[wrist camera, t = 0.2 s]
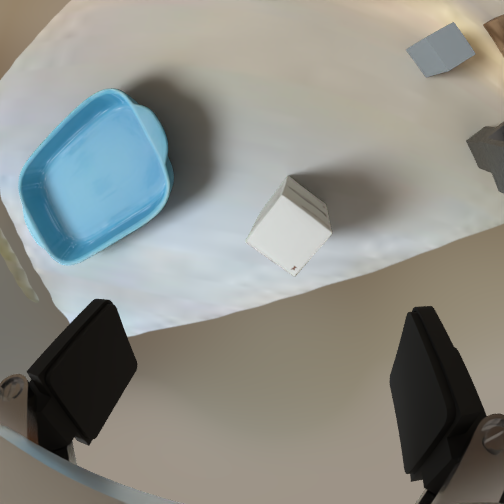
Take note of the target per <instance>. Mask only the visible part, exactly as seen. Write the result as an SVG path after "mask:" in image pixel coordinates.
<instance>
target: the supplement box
mask: <svg viewBox="0 0 504 504" xmlns="http://www.w3.org/2000/svg"><path fill="white" fill-rule="evenodd" d="M332 233H333V232H332V229H331V224H330V219H329V215H328V210H327V206H326V204H325V203H324V202H322V201H321V200H320V199H318V198H317V197H315V196H314V195H313V194H311V193H310V192H309V191H308V190H306V189H305V188H304V187H302V186H301V185H300V184H298V183H297V182H296V181H295V180H293V179H292V178H291V177H290V176H287V177H286V178H285V180H284V181H283V182H282V184H281V185H280V186H279V188H278V189H277V190H276V192H275V193H274V194H273V196H272V197H271V198H270V200H269V201H268V202H267V204H266V205H265V206H264V208H263V209H262V210H261V212H260V214H259V215H258V217H257V219H256V221H255V223H254V225H253V227H252V229H251V231H250V233H249V235H248V237H247V238H246V240H245V242H246V243H247V244H248V245H250V246H251V247H253V248H254V249H255V250H257V251H258V252H260V253H261V254H263V255H264V256H265V257H267V258H268V259H269V260H271V261H272V262H274V263H275V264H277V265H278V266H280V267H281V268H282V269H284V270H285V271H287V272H288V273H289V274H291V275H292V276H293V277H295V276H296V275H297V274H298V273H299V271H300V270H301V269H302V268H303V267H304V266H305V265H306V263H307V262H308V261H309V260H310V259H311V258H312V256H313V255H314V254H315V253H316V252H317V251H318V250H319V248H320V247H321V246H322V245H323V244H324V243H325V242H326V241H327V239H328V238H329V237H330V236H331V235H332Z"/></svg>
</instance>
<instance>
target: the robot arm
mask: <svg viewBox="0 0 504 504" xmlns="http://www.w3.org/2000/svg"><path fill="white" fill-rule="evenodd" d="M136 369H137V361H136V359H135V356H134V353H133V351H132V349H131V346H130V343H129V341H128V338H127V336H126V333H125V330H124V328H123V325H122V322H121V319H120V316H119V314H118V311H117V308H116V306H115V305H113V303H112V302H111V301H110V300H105V299H94V300H93V301H92V302H91V303H90V304H89V305H88V306H87V307H86V308H85V309H84V310H83V311H82V312H81V313H80V314H79V315H78V316H77V317H76V318H75V319H74V320H73V321H72V322H71V323H70V324H69V326H68V327H67V328H66V329H65V330H64V331H63V332H62V333H61V334H60V335H59V336H58V337H57V338H56V339H55V341H54V342H53V343H52V344H51V345H50V346H49V347H48V348H47V349H46V350H45V351H44V353H43V354H42V355H41V356H40V357H39V358H38V359H37V360H36V361H35V363H34V364H33V365H32V366H31V367H30V368H29V369H28V371H27V373H28V374H29V376H30V378H31V379H32V380H31V381H30V382H28V380H27V378H26V377H25V376H24V375H22V374H13V375H10V376H8V377H7V378H5V379H4V380H3V381H2V382H1V383H0V504H184V503H180V502H176V501H173V500H169V499H165V498H162V497H158V496H155V495H151V494H148V493H145V492H142V491H139V490H136V489H133V488H130V487H128V486H125V485H122V484H119V483H117V482H114V481H112V480H109V479H106V478H104V477H102V476H99V475H97V474H95V473H92V472H90V471H88V470H86V469H84V468H81V467H79V466H77V463H76V458H75V453H74V448H73V442H72V440H73V438H74V437H75V438H76V440H77V441H79V442H81V443H84V444H86V445H90V443H91V441H92V440H93V439H95V438H96V437H97V436H98V434H99V432H100V431H101V429H102V427H103V426H104V424H105V422H106V420H107V419H108V417H109V415H110V414H111V412H112V410H113V408H114V407H115V405H116V403H117V402H118V400H119V398H120V397H121V395H122V393H123V391H124V390H125V388H126V387H127V385H128V383H129V382H130V380H131V378H132V377H133V375H134V373H135V372H136ZM390 388H391V393H392V398H393V402H394V408H395V413H396V418H397V424H398V429H399V436H400V442H401V448H402V455H403V463H404V469H405V472H406V474H410V476H411V482H412V481H417V480H422V479H423V483H424V488H425V491H424V492H423V493H422V495H421V496H420V498H419V499H418V501H417V502H416V503H415V504H504V415H503V414H492V415H489V416H486V413H485V411H484V408H483V406H482V403H481V401H480V398H479V396H478V394H477V391H476V389H475V386H474V384H473V382H472V379H471V377H470V375H469V373H468V370H467V368H466V366H465V364H464V362H463V360H462V358H461V356H460V353H459V352H458V350H457V349H456V348H455V347H454V346H453V344H452V342H451V340H450V338H449V336H448V334H447V332H446V330H445V328H444V327H443V324H442V323H441V321H440V319H439V317H438V315H437V313H436V312H435V310H434V308H433V307H432V306H427V307H426V306H424V307H414V308H413V310H412V312H408V313H407V316H406V320H405V324H404V328H403V332H402V336H401V340H400V344H399V347H398V351H397V354H396V358H395V361H394V364H393V368H392V371H391V374H390Z"/></svg>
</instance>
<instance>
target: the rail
mask: <svg viewBox="0 0 504 504" xmlns="http://www.w3.org/2000/svg"><path fill="white" fill-rule="evenodd" d="M483 26H484V27H485V28H486V30H487V31H488V33H489V34H490V36H491V37H492V39H493V40H494V42H495V43H496V45H497V47H498V48H499V50H500V51H501V53H502V55H503V56H504V15H501V16H499V17H496V18H494V19H492V20H490V21H489V22H487V23H485V24H483Z"/></svg>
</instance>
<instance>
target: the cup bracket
mask: <svg viewBox="0 0 504 504" xmlns="http://www.w3.org/2000/svg"><path fill="white" fill-rule="evenodd" d="M466 142H467V144H468V146H469V148H470V150H471V152H472V154H473V156H474V158H475V160H476V163H477V165H478V167H479V168H481V169H483V170H486V171H488V172H491V173H492V175H493V177H494V180H495V182H496V185H497V188H498V190H499V191H500V192H502V193H504V122H503V123H501V124H500V125H499V126H498V127H496V128H493V127H484V128H483V129H481V130H480V131H479V132H477V133H476V134H475V135H473V136H472V137H471V138H469V139H468V140H466Z"/></svg>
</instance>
